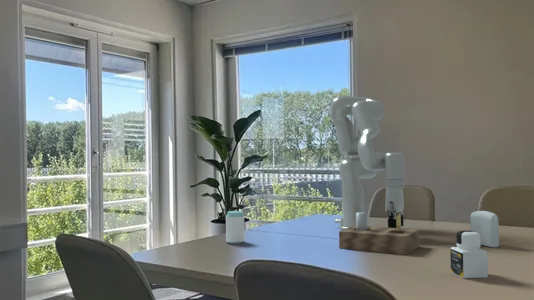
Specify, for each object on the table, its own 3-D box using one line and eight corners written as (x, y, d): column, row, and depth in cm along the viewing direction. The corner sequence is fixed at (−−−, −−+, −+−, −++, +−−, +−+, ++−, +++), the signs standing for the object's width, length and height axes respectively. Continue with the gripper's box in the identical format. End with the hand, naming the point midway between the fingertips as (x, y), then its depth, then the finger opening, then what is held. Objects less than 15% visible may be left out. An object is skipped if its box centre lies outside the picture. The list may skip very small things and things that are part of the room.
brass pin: (389, 238, 187) (388, 213, 187) (392, 237, 190) (391, 212, 190) (399, 239, 185) (399, 214, 185) (402, 238, 188) (401, 212, 188)
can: (247, 241, 186) (247, 210, 186) (239, 244, 179) (238, 212, 180) (231, 240, 189) (231, 210, 189) (222, 243, 182) (222, 212, 183)
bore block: (339, 248, 170) (339, 231, 170) (355, 240, 183) (355, 225, 183) (406, 254, 157) (406, 236, 157) (419, 246, 171) (418, 229, 171)
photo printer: (468, 243, 175) (468, 210, 175) (476, 242, 177) (476, 209, 177) (492, 248, 166) (492, 212, 166) (501, 247, 168) (500, 212, 168)
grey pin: (354, 240, 173) (354, 213, 173) (358, 238, 176) (358, 212, 177) (365, 241, 171) (364, 213, 171) (369, 239, 174) (368, 212, 174)
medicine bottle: (450, 272, 134) (449, 229, 134) (474, 271, 134) (473, 228, 134) (462, 278, 126) (462, 233, 127) (488, 277, 127) (487, 233, 127)
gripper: (392, 182, 197) (393, 224, 197) (378, 184, 182) (379, 230, 182) (410, 182, 193) (411, 225, 193) (397, 185, 178) (398, 231, 178)
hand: (395, 227), depth 187 cm, fingers open, 8 cm apart
